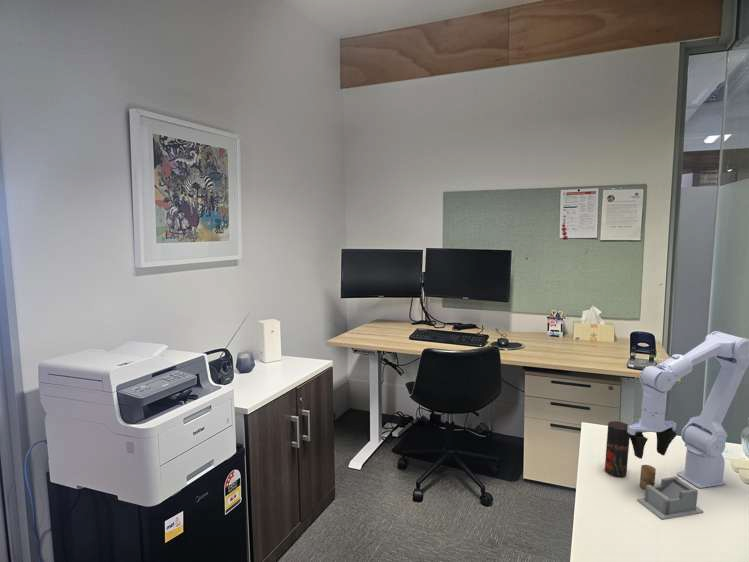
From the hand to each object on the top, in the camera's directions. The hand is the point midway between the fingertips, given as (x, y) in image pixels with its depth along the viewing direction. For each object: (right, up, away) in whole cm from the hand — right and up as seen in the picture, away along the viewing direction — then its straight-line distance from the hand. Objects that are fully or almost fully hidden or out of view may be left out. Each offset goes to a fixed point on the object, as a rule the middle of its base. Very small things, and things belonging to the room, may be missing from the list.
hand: (649, 455), depth 137 cm
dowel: (0, -10, +1) cm, 10 cm away
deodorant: (-5, -9, +9) cm, 14 cm away
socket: (+1, -11, -7) cm, 13 cm away
